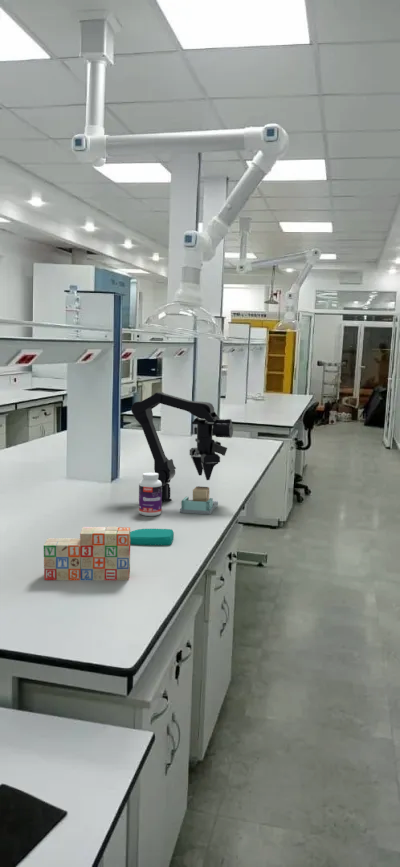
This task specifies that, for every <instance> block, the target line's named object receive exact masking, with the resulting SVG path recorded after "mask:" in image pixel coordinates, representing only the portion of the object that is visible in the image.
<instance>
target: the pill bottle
mask: <svg viewBox="0 0 400 867" xmlns="http://www.w3.org/2000/svg"><path fill="white" fill-rule="evenodd" d="M158 477H159V475H158V473H155V472H144V473H142V479H140V481H139V482H138V513H139V514H140V515H142V516H144V517H155V516H159V515H160V514H162V512H163V508H162V507H163V506H162V505H163V502H162V482H161V481H160V480H158Z"/></svg>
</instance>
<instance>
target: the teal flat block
mask: <svg viewBox="0 0 400 867" xmlns="http://www.w3.org/2000/svg"><path fill="white" fill-rule="evenodd" d="M174 534H175V532H174V531H173V529H172V528H171V529H170V528H139V529H135V530H132V531H131V530H130V545H132V546H171V545H172V543H173V541H174V536H175V535H174Z"/></svg>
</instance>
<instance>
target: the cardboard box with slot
mask: <svg viewBox="0 0 400 867" xmlns="http://www.w3.org/2000/svg"><path fill="white" fill-rule="evenodd" d="M209 499H210V487H209V486H200V485H199V486H196V487H194V488H192V500H193V501H201V502H207V501H208V500H209Z"/></svg>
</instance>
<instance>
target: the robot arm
mask: <svg viewBox="0 0 400 867" xmlns="http://www.w3.org/2000/svg"><path fill="white" fill-rule="evenodd" d="M160 404H162V405H164V406H165V405H166V406H168V407H172V408H175V409H179V410H181V411H186V412H188V413H190V414H191V415H192V416H193V417H195V419H194V420H193V421H192V422H191V424H192V425H197V426H196V438H195V440H194V441H195V442H196V447H192V448H190V449H189V456H190V459H191V460H192V462H193V464H194V467H195V469H196V472H197V475H198V476H202V475H203V474H204V478H205V480H206V481H210V480H211V476H212V473H213V470H214V468H215V466H216V465H219V463H220V462H221V457H220V455H221V456H225V457H226V453H227V450H228V447H226V446H223V445H222V443H221V442H220V441H217V440H215V439H213V436H215V437H216V438H224V439H225V438H228V439H229V438H230V439H231V438H232V437H233V433H234V427H233V422H232V419H231V418H227V419H225V418H224V419H223V418H222V419H221V418H220V417H219V416H218V414H217V413H216V412H215V408H214V405H213V403H211V402H207V401H198V400H197V401H193V400H189V399H185V398H181V397H179V396H175V395H171V394H168V393H164V392H162V391H157V392H154V393H153V394H152V395H151V396H149V397H147V398H145V399H143V400H139V401H135V402H134V403H133V404H132V405H131V408H130V411H131V414H132V415H133V417H134V419H135V420H136V422H137V423H138V424H139V425H140V426H141V429H142V430H143V433H144V436H145V439H146V442H147V445H148V448H149V450H150V452H151V455H152V458H153V461H154V462H153V463H154V464H153V466H154V467H153V469H154V473H158V475H159V477H158V480H160V481H161V482H162V503H163V502H169V501H172V498H171V487H170V483H171V479H173V478H174V477H175V475H176V469H177V467H176V466H175V464H174V460H173V458H171V459H169V458H168V457H167V456H166V454H165V451H164V448H163V446H162V442H161V441H160V438H159V435H158V433H157V430H156V428H155V427H156V426H155V425H154V420H153V417H154V416H153V415H154V414H153V409H155V408H156V407H157V406H159V405H160ZM219 454H220V455H219Z"/></svg>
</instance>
